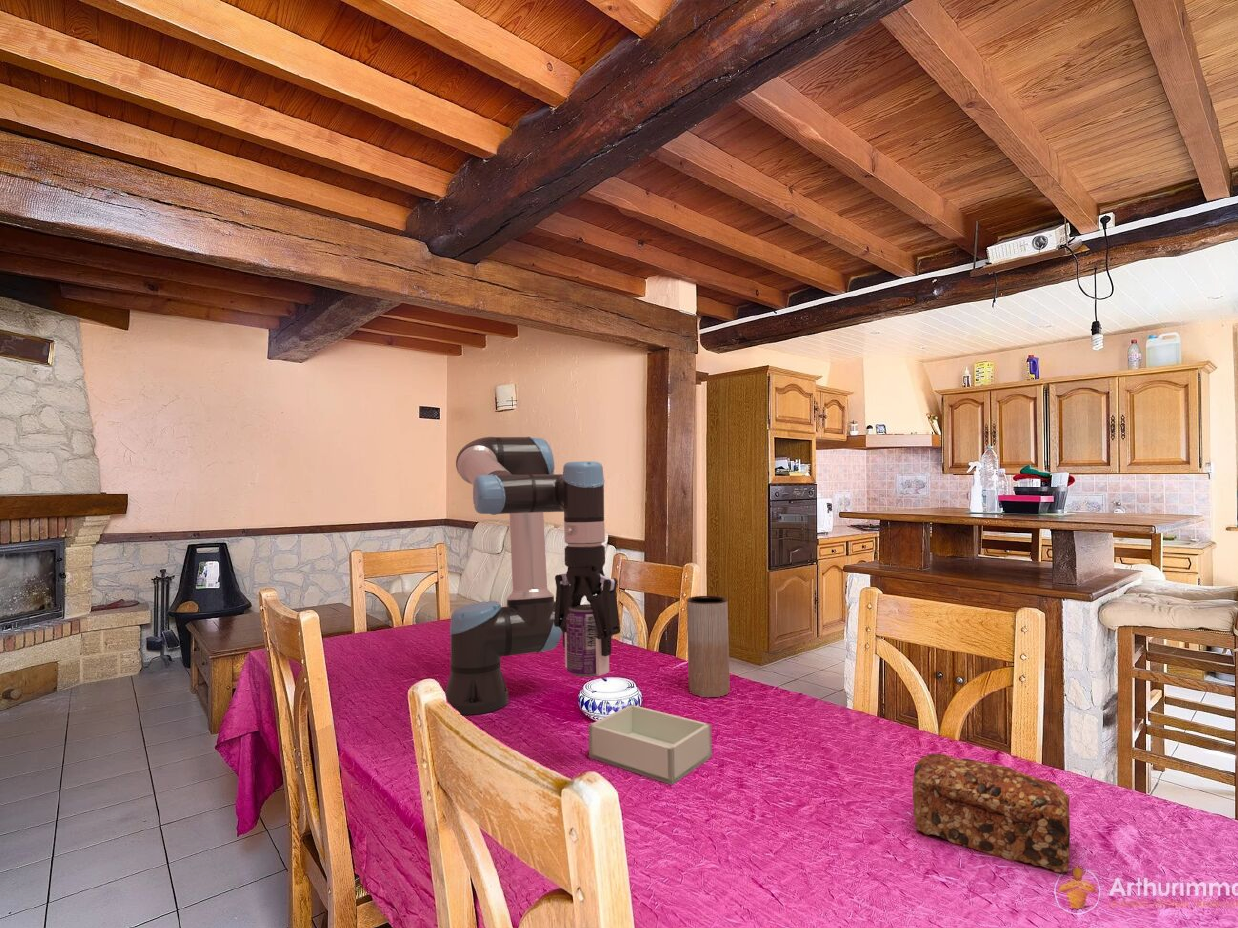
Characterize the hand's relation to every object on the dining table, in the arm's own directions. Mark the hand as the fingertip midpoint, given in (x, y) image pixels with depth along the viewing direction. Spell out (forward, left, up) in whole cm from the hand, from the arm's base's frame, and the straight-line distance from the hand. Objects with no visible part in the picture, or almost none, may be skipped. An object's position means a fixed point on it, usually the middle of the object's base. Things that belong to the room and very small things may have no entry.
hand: (586, 669), depth 114 cm
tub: (+7, +10, -17) cm, 21 cm away
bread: (+62, +16, -18) cm, 66 cm away
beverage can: (0, 0, -1) cm, 1 cm away
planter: (-2, +49, -18) cm, 52 cm away
